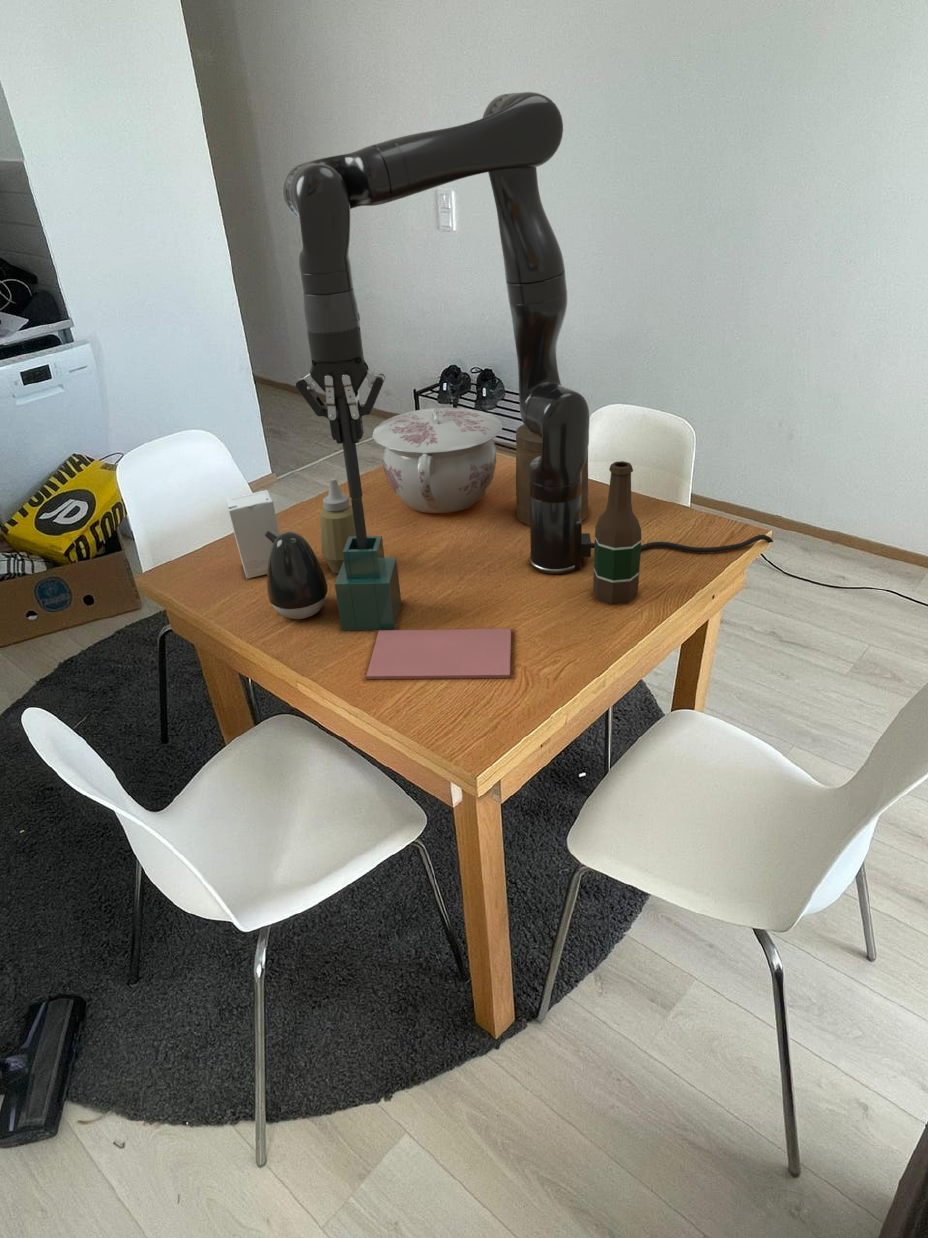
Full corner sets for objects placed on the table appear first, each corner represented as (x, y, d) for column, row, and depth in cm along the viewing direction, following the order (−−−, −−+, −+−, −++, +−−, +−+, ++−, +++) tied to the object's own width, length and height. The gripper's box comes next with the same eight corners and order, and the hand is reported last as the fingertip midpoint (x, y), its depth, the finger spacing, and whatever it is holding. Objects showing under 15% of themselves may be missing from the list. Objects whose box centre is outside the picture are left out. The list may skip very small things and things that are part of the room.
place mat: (511, 631, 136) (511, 628, 135) (510, 678, 125) (509, 674, 124) (379, 633, 137) (378, 630, 137) (366, 679, 126) (366, 676, 126)
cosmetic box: (283, 558, 163) (269, 488, 155) (288, 571, 158) (274, 499, 150) (240, 567, 161) (224, 496, 153) (244, 580, 156) (228, 508, 148)
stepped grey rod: (370, 543, 136) (350, 393, 123) (367, 550, 134) (347, 398, 121) (358, 543, 136) (337, 393, 123) (355, 550, 134) (334, 399, 121)
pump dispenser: (300, 591, 151) (286, 515, 143) (342, 605, 146) (330, 527, 138) (259, 616, 144) (242, 538, 136) (301, 632, 139) (286, 552, 131)
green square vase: (401, 602, 146) (393, 530, 138) (394, 629, 138) (385, 555, 131) (351, 603, 146) (340, 532, 139) (341, 630, 139) (330, 556, 131)
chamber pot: (447, 468, 199) (441, 382, 188) (530, 497, 181) (529, 405, 170) (354, 504, 183) (341, 413, 172) (434, 541, 166) (426, 442, 155)
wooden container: (577, 496, 180) (579, 396, 169) (595, 524, 168) (599, 419, 156) (510, 503, 179) (508, 403, 168) (524, 532, 167) (522, 427, 155)
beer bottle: (610, 610, 139) (616, 477, 127) (583, 591, 145) (587, 461, 133) (647, 597, 142) (656, 466, 130) (619, 579, 148) (626, 451, 136)
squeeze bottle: (359, 578, 154) (347, 488, 145) (318, 576, 156) (303, 487, 146) (372, 558, 161) (360, 471, 151) (332, 556, 162) (319, 470, 153)
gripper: (278, 332, 114) (298, 451, 123) (377, 327, 113) (390, 448, 122) (291, 320, 120) (309, 434, 129) (384, 315, 119) (396, 431, 128)
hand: (348, 441), depth 126 cm, fingers closed on stepped grey rod, 2 cm apart
